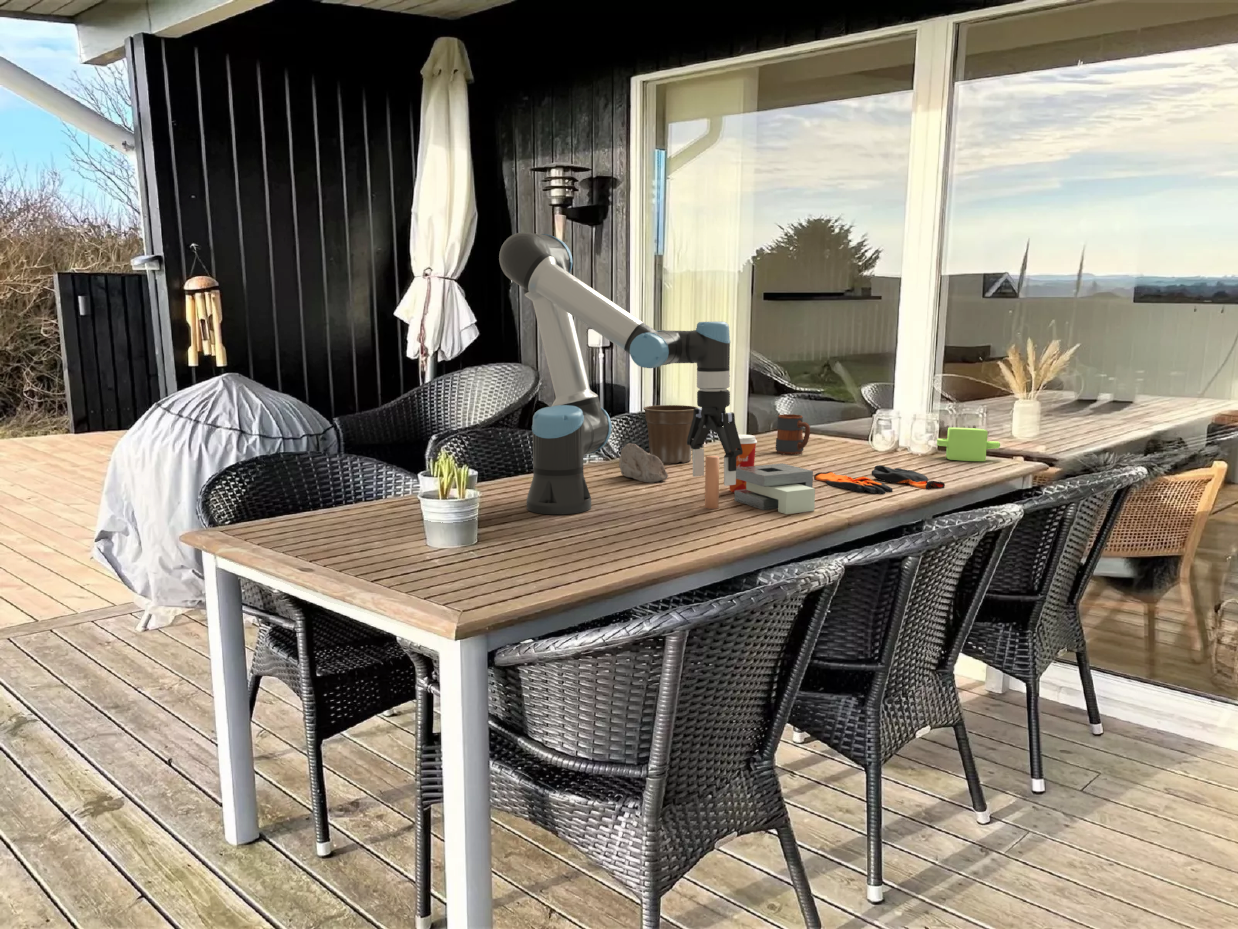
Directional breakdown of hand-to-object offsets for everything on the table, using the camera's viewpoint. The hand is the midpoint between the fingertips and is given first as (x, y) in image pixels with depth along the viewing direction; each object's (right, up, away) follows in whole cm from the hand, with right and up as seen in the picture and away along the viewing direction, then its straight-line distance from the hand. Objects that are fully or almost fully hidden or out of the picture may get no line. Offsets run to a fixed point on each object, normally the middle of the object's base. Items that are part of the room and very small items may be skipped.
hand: (713, 480), depth 230 cm
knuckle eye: (+16, -6, +3) cm, 17 cm away
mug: (+33, +7, +79) cm, 85 cm away
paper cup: (+9, -3, +20) cm, 22 cm away
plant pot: (-7, +5, +66) cm, 66 cm away
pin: (0, -6, +1) cm, 6 cm away
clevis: (+14, -5, +6) cm, 16 cm away
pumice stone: (-16, -1, +37) cm, 40 cm away
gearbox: (+83, +5, +68) cm, 107 cm away
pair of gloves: (+46, -2, +30) cm, 55 cm away
